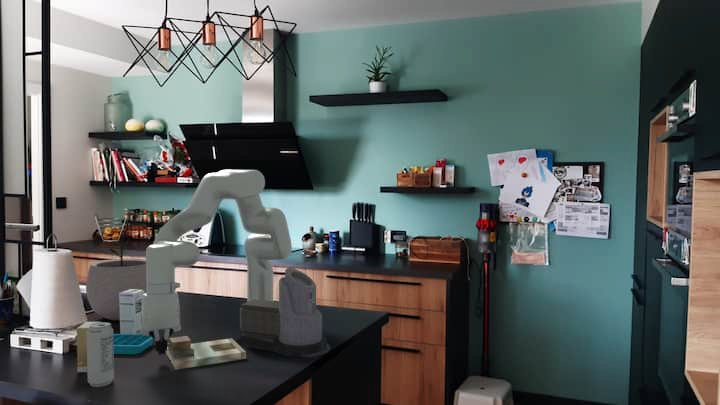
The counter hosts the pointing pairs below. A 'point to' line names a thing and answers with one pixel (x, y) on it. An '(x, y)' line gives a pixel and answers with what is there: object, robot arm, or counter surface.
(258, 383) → the counter surface
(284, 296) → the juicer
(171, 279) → the robot arm
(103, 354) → the energy drink can
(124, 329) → the syrup box
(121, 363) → the counter surface
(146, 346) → the ice cube tray
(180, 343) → the walnut block
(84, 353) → the skincare box
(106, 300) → the plant pot
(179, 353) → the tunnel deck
